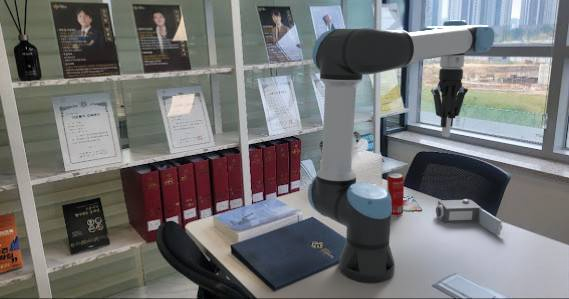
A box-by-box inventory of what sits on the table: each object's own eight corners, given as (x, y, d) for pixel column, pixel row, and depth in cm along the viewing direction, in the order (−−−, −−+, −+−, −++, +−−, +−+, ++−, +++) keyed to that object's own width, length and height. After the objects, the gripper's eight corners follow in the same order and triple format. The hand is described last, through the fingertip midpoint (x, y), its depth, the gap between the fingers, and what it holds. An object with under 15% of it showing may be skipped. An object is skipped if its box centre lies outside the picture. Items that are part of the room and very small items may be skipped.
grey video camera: (441, 223, 147) (443, 206, 146) (432, 214, 155) (434, 198, 153) (479, 222, 148) (481, 205, 146) (469, 213, 155) (471, 197, 154)
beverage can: (405, 212, 158) (407, 173, 154) (399, 218, 152) (401, 178, 148) (389, 208, 161) (391, 170, 157) (383, 214, 155) (385, 175, 151)
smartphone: (402, 210, 158) (393, 196, 173) (402, 212, 158) (393, 197, 173) (423, 210, 158) (412, 195, 173) (423, 212, 158) (412, 197, 173)
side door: (501, 235, 138) (503, 220, 136) (497, 235, 138) (499, 221, 136) (480, 221, 148) (482, 208, 147) (477, 221, 148) (478, 208, 146)
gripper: (440, 69, 140) (434, 139, 146) (475, 68, 143) (468, 137, 149) (428, 67, 147) (423, 134, 153) (461, 66, 150) (455, 132, 156)
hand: (445, 136), depth 151 cm, fingers closed
